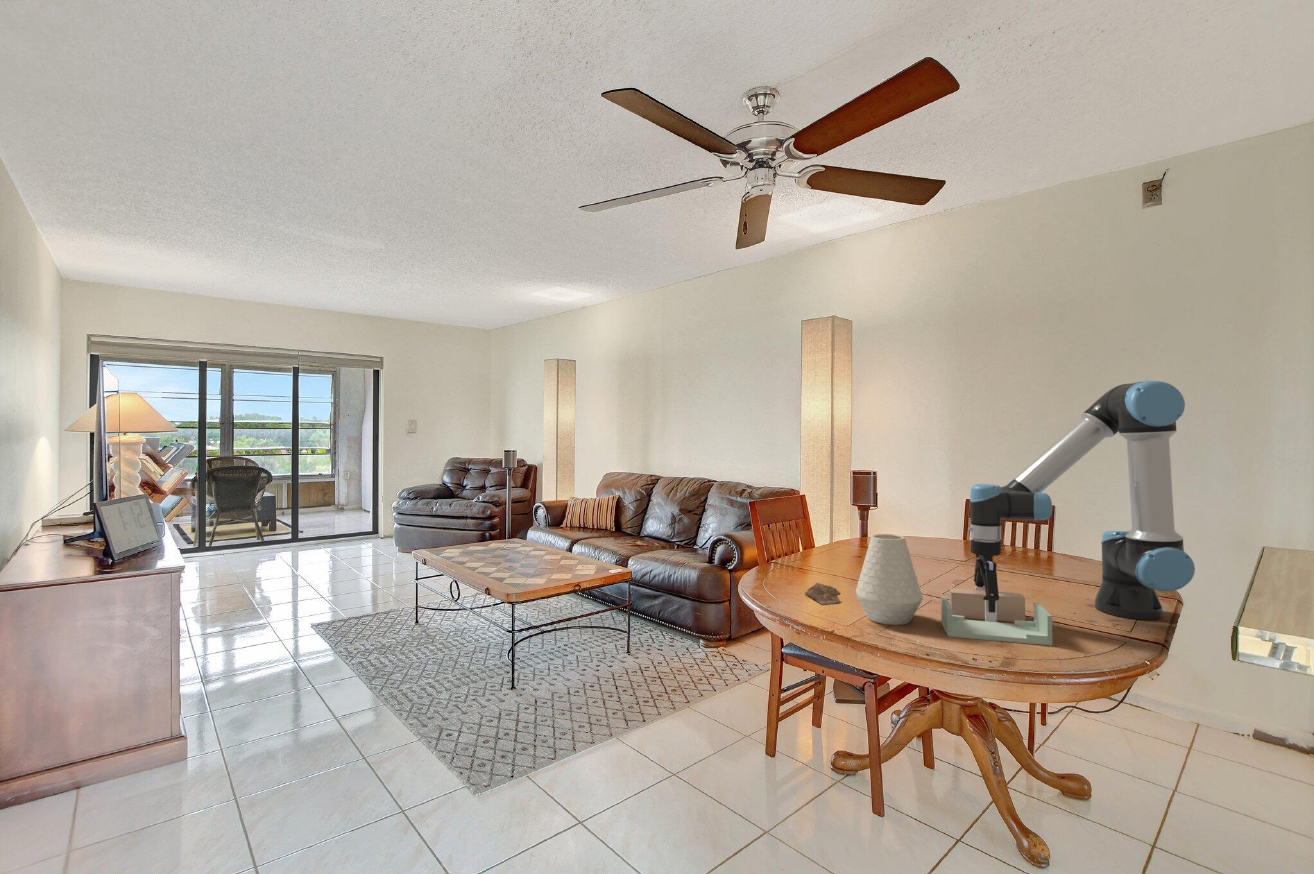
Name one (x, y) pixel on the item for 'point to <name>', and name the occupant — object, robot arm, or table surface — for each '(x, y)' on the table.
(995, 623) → the tray
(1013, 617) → the pinkish tan rectangular block
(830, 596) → the wooden fragment
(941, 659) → the table surface
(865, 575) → the vase
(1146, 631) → the table surface
